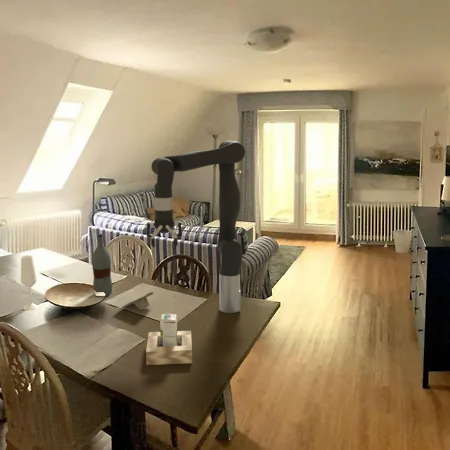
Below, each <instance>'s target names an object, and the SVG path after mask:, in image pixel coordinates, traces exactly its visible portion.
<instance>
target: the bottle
mask: <svg viewBox="0 0 450 450" xmlns="http://www.w3.org/2000/svg"><path fill="white" fill-rule="evenodd" d="M96 235H97V246H96V248H95V250H94V251H93V253H92V257H91V266H92V273H93V281H92V282H93V283H92V284H93V285H92V288H93V291H94V290H95V291H96V292H104V293H105V294H106V295H105V297H109V296H111V295H112V292H113V281H112V275H111V273H112V272H111V270H112V260H111V255H110V252H109V251H108V249H107V248H106V247H105V245H104V235H103V233H102V234H101V233H100V234H99V233H98V234H96Z"/></svg>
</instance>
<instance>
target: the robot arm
mask: <svg viewBox="0 0 450 450" xmlns="http://www.w3.org/2000/svg"><path fill="white" fill-rule="evenodd" d="M245 155H246V148H245V146H244V145H243V144H242V142H241V143H240V142H239V141H235V140H224V141H222V142H220V144H219V146H218V148H213V149H207V150H196V151H188V152H184V153H180V154H177V155H168V156H161V157H157V158H155V159H154V160H153V161H152V163H151V170H152V172H153V173H154V175H156V176H157V179H156V180H157V181H156V183H154V188H153V191H154V201H153V202H154V203H153V204H154V205H153V208H154V209H153V210H154V213H153V214H154V222H150V221H147V222H146V238H149V239H150V240H151V241H150V242H151V243H150V244H151V245H150V246H151V247H153V249H155V248H156V240H155V239H156V238H155V237H156V236H157V235H158V233H160V234H169V233H170V234H171V235H172V237H173V245H174V248H177V247H178V243H179V242H178V238H182V236H183V232H182V222H181V221H177V222H176V221H174V200H173V183H174V177H175V173H176V172H188V171H192V170H196V169H199V168H204V167H209V166H213V165H218V172H219V173H218V175H219V178H218V179H219V183H218V185H219V188H218V189H219V191H218V193H219V194H218V216H219V219H218V220H219V229H218V231H219V232H218V237H217V238H218V239H217V250H218V253H219V254H220V255H221V261H220V262H221V265H220V266H219V268H218V269H219V273H218V274H219V276H218V279H219V281H218V284H219V287H218V288H219V292H218V293H219V299H218V300H219V301H218V302H219V304H218V308H219V311H220V312H222V313H224V314H235V313H238V312H241V269H242V265H243V264H242V261H243V247H242V245H241V243H240V242H239V241H238V240H237V236H236V224H237V221H238V217H239V213H240V209H241V191H240V187H239V183H238V180H237V177H236V171H235V166H236V165H235V164H238V163H240V162H241V161H243V159H244V158H245ZM153 227H154V228H155V230H154V232H152V233H151V228H153ZM174 227H176V228H178V233H176V231H175V230H174V229H173V228H174Z"/></svg>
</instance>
